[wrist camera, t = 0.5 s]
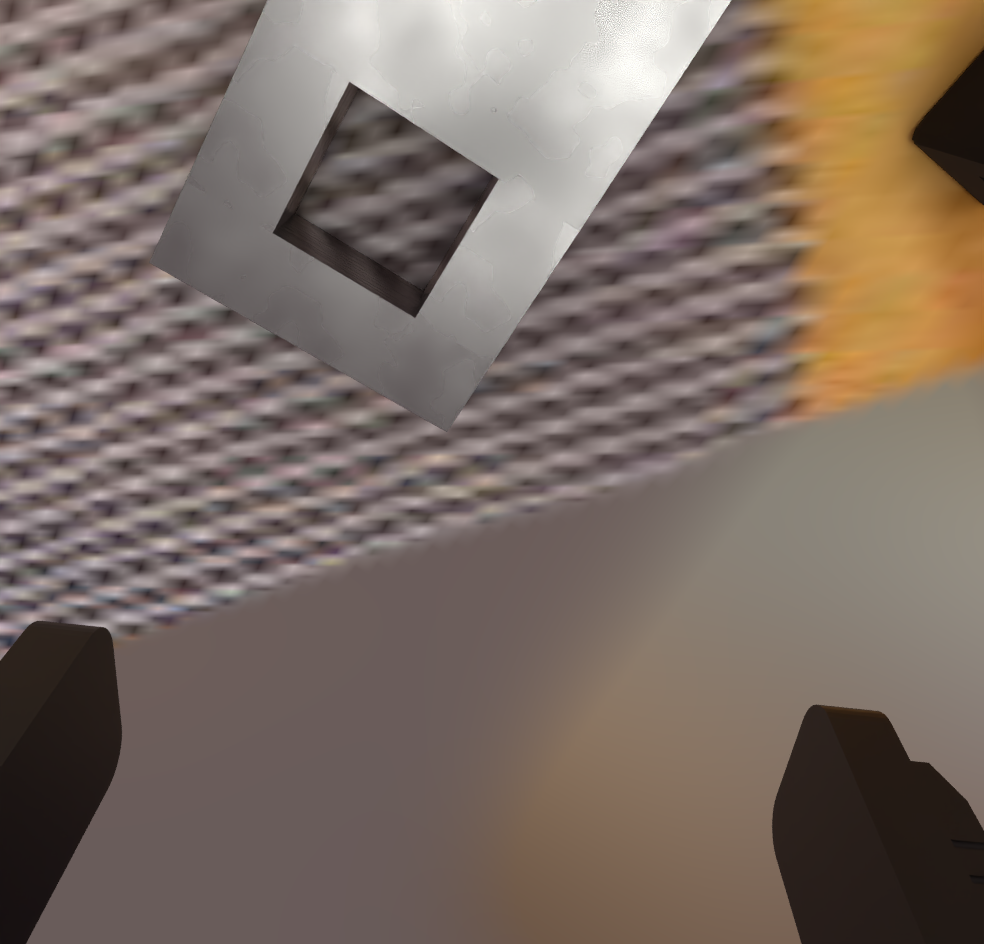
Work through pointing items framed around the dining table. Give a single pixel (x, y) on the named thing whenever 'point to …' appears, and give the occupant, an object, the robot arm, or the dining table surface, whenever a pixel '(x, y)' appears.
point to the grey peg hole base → (454, 121)
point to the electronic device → (958, 130)
